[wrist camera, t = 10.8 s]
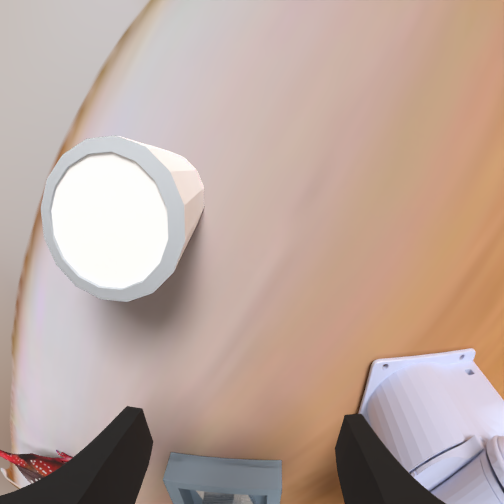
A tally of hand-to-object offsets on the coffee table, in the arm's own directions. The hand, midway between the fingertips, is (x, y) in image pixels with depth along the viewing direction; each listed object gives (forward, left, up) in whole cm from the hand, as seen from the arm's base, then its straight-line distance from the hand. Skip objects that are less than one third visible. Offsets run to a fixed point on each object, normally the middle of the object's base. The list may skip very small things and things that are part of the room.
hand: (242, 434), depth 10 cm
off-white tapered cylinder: (+6, -7, -11) cm, 14 cm away
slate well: (+3, +22, -10) cm, 25 cm away
